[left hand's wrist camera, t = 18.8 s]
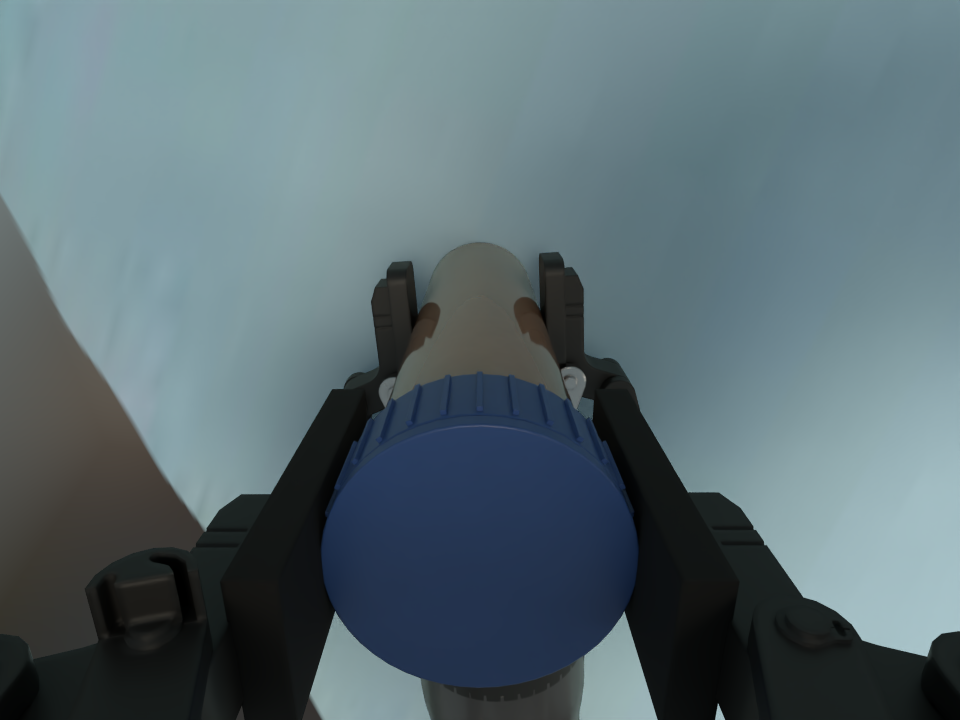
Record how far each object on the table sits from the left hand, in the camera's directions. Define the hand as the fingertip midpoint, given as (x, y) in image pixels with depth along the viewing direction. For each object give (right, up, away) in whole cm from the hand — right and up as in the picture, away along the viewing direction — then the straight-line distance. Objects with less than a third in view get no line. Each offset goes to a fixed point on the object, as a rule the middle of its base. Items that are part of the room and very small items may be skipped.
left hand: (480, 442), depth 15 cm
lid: (0, -1, -4) cm, 4 cm away
